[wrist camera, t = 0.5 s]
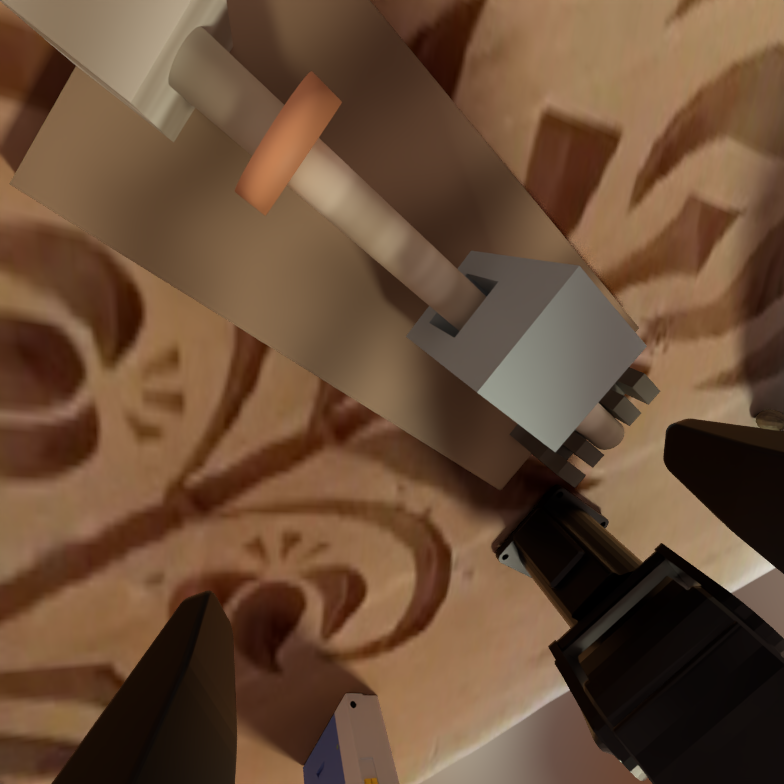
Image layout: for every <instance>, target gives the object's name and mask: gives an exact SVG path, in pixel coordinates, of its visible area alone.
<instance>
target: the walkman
mask: <svg viewBox="0 0 784 784" xmlns="http://www.w3.org/2000/svg"><path fill="white" fill-rule="evenodd" d="M303 772H304V784H399V780H398V776H397V772H396V768H395V764H394V760H393V756H392V752H391V748H390V744H389V740H388V736H387V732H386V728H385V724H384V720H383V716H382V712H381V708H380V704H379V700H378V696H377V695H363V694H362V693H345V695H344V697H343V699H342V700H341V702H340V704H339V705H338V707H337V709H336V711H335V712H334V715H333V716H332V718H331V720H330V722H329V723H328V725H327V727H326V729H325V730H324V732H323V734H322V736H321V737H320V739H319V741H318V742H317V744H316V746H315V748H314V749H313V751H312V753H311V755H310V756H309V758H308V760H307V762H306V763H305V765H304V767H303Z"/></svg>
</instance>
